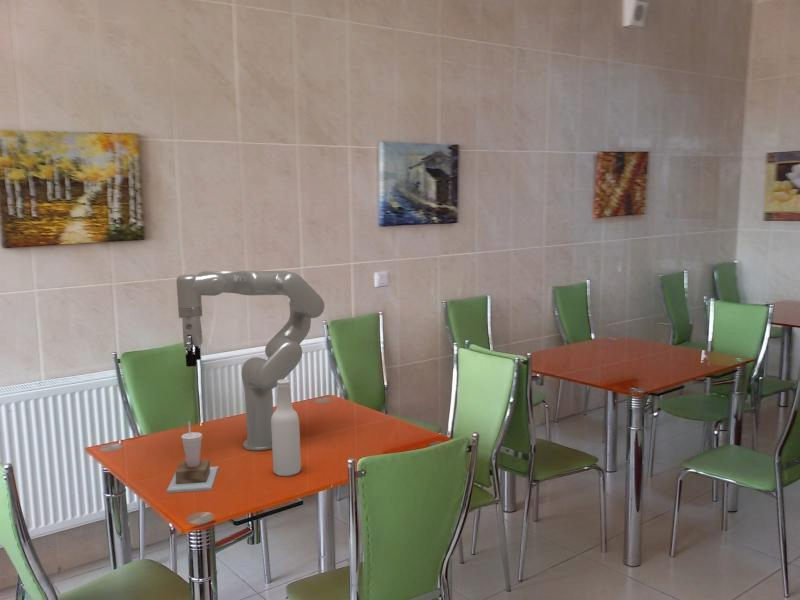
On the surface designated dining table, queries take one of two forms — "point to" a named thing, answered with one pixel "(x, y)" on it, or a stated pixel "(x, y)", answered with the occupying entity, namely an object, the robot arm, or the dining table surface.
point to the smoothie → (192, 447)
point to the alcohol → (285, 433)
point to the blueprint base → (209, 482)
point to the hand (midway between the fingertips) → (193, 362)
